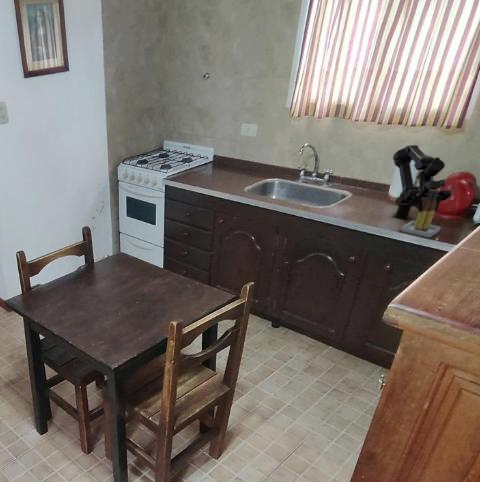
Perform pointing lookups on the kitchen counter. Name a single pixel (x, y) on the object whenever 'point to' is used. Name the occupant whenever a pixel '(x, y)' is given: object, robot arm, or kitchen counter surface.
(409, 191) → the robot arm
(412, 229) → the grey shallow tray
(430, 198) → the sauce bottle
